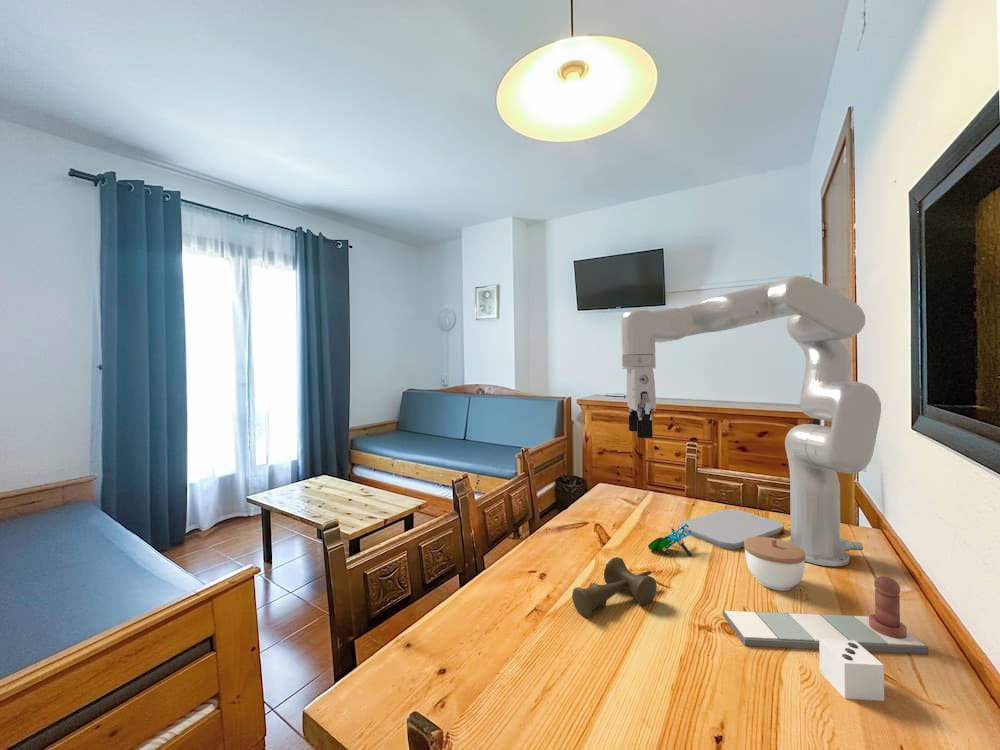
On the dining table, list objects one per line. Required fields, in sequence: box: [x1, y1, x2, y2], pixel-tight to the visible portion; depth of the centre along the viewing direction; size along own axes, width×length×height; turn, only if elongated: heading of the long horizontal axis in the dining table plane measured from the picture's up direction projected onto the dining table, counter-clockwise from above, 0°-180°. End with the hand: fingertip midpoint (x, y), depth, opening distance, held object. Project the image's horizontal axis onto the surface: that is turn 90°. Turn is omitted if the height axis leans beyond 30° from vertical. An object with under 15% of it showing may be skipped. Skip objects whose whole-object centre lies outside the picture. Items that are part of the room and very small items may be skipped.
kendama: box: [571, 556, 658, 618], centre depth 80 cm, size 6×10×20 cm
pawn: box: [868, 575, 908, 639], centre depth 68 cm, size 5×5×9 cm
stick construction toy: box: [647, 524, 693, 558], centre depth 100 cm, size 12×7×8 cm
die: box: [818, 639, 885, 702], centre depth 58 cm, size 5×5×5 cm
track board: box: [722, 610, 929, 655], centre depth 69 cm, size 28×8×1 cm, turn 84°
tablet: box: [679, 508, 784, 550], centre depth 112 cm, size 16×26×2 cm, turn 118°
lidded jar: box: [743, 536, 806, 592], centre depth 85 cm, size 11×11×9 cm
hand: (640, 434), depth 96 cm, fingers open, 9 cm apart
